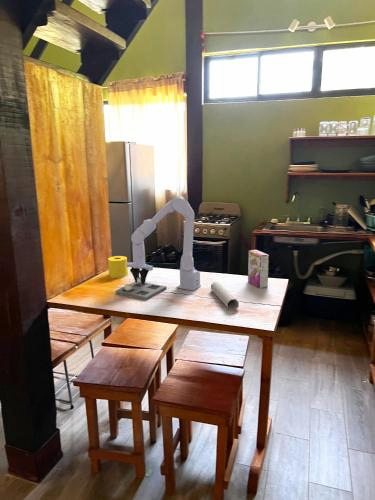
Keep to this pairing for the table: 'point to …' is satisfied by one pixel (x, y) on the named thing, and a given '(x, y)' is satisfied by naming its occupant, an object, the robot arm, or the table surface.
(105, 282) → the table surface
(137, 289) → the hole board
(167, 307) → the table surface
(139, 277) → the loose pin
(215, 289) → the tube
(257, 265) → the candy bar box
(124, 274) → the tape roll
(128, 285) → the pin
